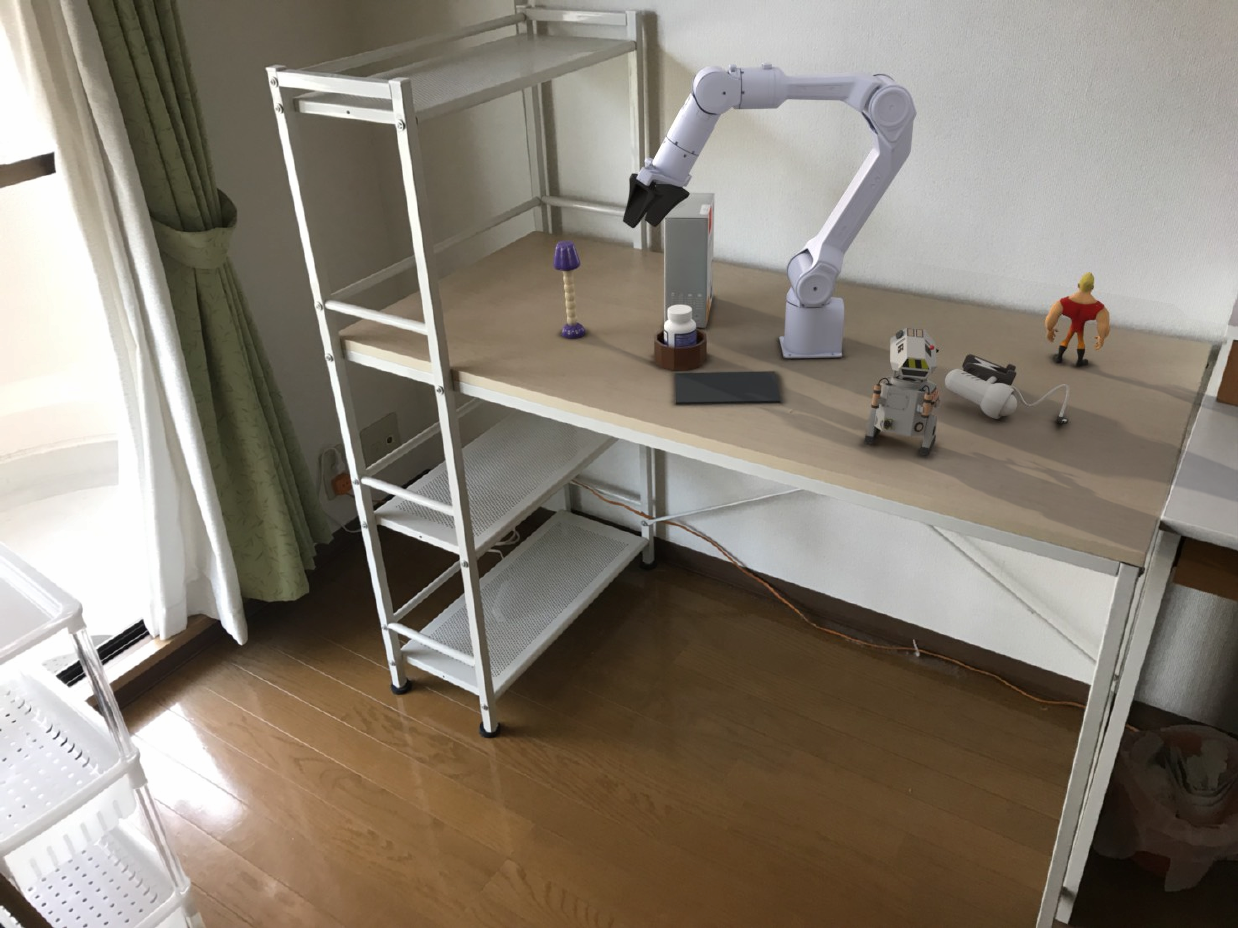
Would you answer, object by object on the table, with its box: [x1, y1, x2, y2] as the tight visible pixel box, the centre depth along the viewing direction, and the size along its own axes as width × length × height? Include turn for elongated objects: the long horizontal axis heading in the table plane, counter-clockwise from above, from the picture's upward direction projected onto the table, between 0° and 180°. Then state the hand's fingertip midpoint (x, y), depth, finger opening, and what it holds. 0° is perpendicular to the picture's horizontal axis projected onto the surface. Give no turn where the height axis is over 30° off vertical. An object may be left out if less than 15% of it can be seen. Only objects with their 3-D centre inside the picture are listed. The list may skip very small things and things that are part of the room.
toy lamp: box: [552, 240, 586, 339], centre depth 171 cm, size 5×5×17 cm
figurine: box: [863, 327, 942, 456], centre depth 137 cm, size 9×12×15 cm
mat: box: [674, 370, 782, 405], centre depth 155 cm, size 16×10×1 cm, turn 88°
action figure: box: [1044, 272, 1111, 368], centre depth 155 cm, size 10×4×15 cm, turn 59°
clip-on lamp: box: [944, 353, 1071, 425], centre depth 145 cm, size 12×6×18 cm
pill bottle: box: [663, 305, 697, 347], centre depth 163 cm, size 5×5×9 cm
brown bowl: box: [653, 327, 708, 371], centre depth 164 cm, size 9×9×4 cm
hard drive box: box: [663, 192, 716, 329], centre depth 177 cm, size 16×8×20 cm, turn 171°
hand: (639, 224), depth 155 cm, fingers open, 7 cm apart
